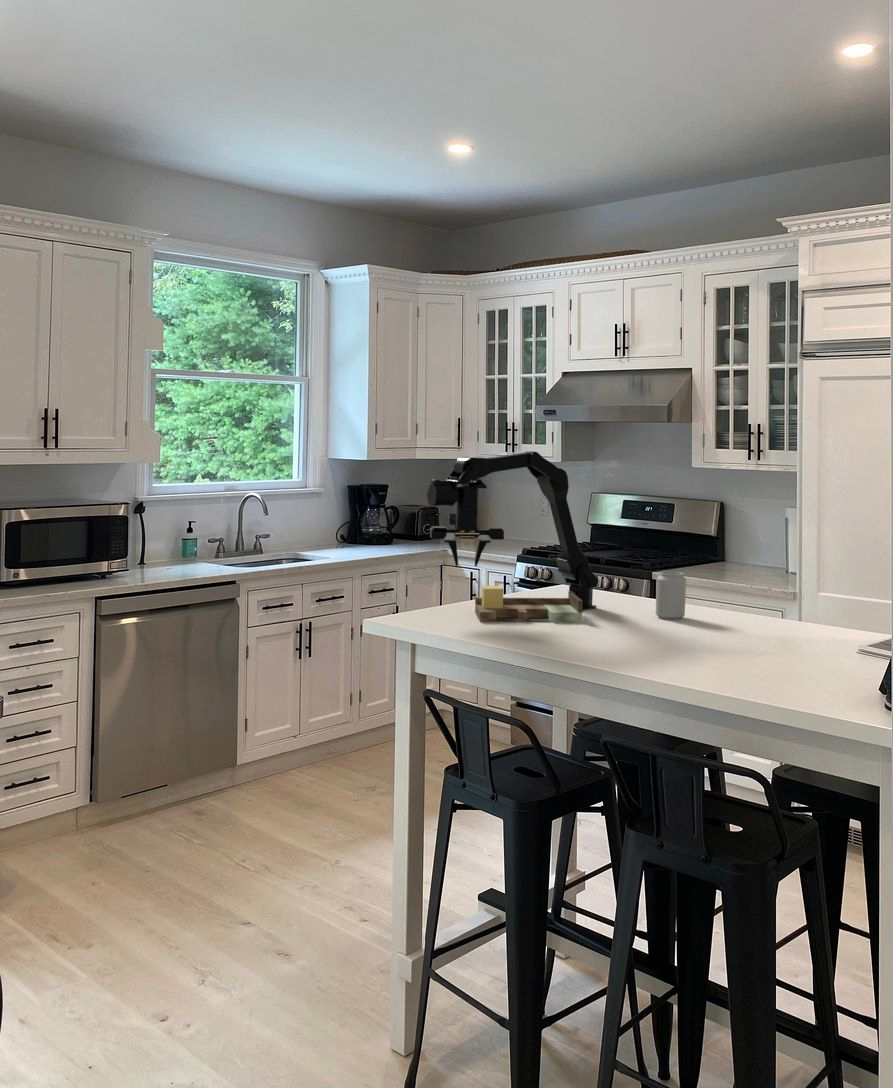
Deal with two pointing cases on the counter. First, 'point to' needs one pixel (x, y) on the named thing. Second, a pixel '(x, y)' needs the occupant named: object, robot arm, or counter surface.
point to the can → (670, 595)
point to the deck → (532, 610)
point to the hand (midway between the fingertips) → (466, 566)
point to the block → (492, 597)
